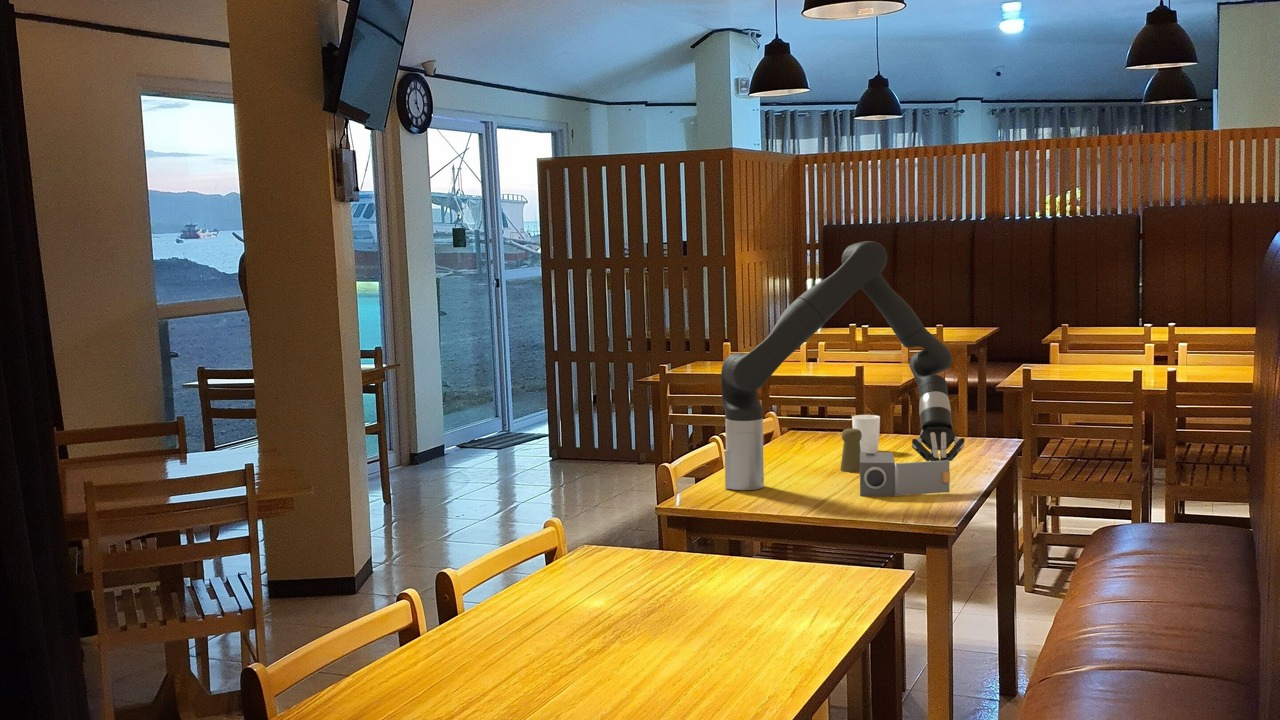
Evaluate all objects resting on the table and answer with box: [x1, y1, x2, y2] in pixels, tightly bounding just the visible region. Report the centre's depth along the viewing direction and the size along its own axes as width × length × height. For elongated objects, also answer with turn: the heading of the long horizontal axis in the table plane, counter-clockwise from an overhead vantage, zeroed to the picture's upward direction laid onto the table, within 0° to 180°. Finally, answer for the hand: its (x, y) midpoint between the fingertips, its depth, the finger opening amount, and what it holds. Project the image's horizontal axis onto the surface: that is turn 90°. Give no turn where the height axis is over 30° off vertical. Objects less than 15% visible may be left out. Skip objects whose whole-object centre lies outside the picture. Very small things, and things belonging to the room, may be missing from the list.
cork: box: [839, 427, 862, 473], centre depth 312 cm, size 6×6×11 cm
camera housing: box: [859, 451, 896, 497], centre depth 286 cm, size 8×15×9 cm, turn 170°
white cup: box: [851, 414, 881, 452], centre depth 340 cm, size 8×8×10 cm
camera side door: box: [895, 460, 951, 496], centre depth 279 cm, size 2×13×8 cm, turn 100°
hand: (940, 473), depth 282 cm, fingers closed
